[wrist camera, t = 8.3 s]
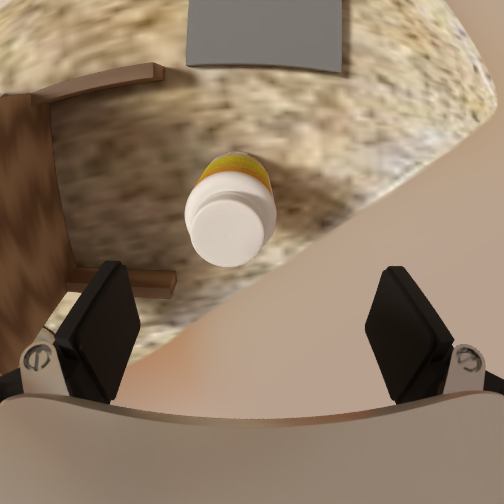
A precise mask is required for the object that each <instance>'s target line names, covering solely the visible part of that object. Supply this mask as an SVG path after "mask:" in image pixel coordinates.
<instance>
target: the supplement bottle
mask: <svg viewBox="0 0 504 504" xmlns="http://www.w3.org/2000/svg"><path fill="white" fill-rule="evenodd" d="M276 219H277V211H276V206H275V202H274V197H273V193H272V188H271V184H270V180H269V176H268V173H267V171H266V169H265V167H264V165H263V164H262V163H261V162H260V161H259V160H258V159H257V158H255V157H254V156H252V155H250V154H248V153H244V152H238V151H234V152H227V153H224V154H222V155H219V156H218V157H216V158H215V159H214V160H213V161H211V162H210V164H209V165H208V166H207V168H206V169H205V171H204V172H203V174H202V176H201V177H200V179H199V180H198V182H197V184H196V185H195V187H194V188H193V190H192V192H191V193H190V195H189V198H188V200H187V203H186V207H185V223H186V227H187V229H188V232H189V234H190V237H191V241H192V244H193V247H194V248H195V250H196V252H197V253H198V254H199V255H200V256H201V257H202V258H203V259H204V260H206V261H207V262H209V263H211V264H214V265H216V266H220V267H236V266H240V265H243V264H245V263H247V262H249V261H251V260H252V259H253V258H254V257H255V256H256V255H257V254H258V253H259V252H260V250H261V248H262V247H263V246H264V245H265V244H266V243H267V241H268V240H269V239H270V237H271V235H272V233H273V231H274V229H275V225H276Z"/></svg>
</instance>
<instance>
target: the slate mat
mask: <svg viewBox="0 0 504 504" xmlns="http://www.w3.org/2000/svg"><path fill="white" fill-rule="evenodd" d="M214 65H255V66H276V67H289V68H300V69H309V70H317V71H324V72H331V73H337V74H338V73H341V65H342V0H189V10H188V25H187V45H186V66H188V67H193V66H214Z"/></svg>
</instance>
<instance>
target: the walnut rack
mask: <svg viewBox="0 0 504 504" xmlns="http://www.w3.org/2000/svg"><path fill="white" fill-rule="evenodd" d="M161 80H164V66H161V65H159V64H156V63H154V62H151V63H144V64H138V65H132V66H127V67H121V68H116V69H111V70H107V71H102V72H98V73H94V74H90V75H86V76H82V77H79V78H75V79H71V80H68V81H65V82H62V83H58V84H55V85H52V86H49V87H46V88H44V89H41V90H38V91H35V92H33V93H28V94H19V95H11V96H4V97H0V376H2V375H4V374H7V373H9V372H11V371H13V370H15V369H17V368H18V367H19V365H20V357H21V355H22V353H23V351H24V350H25V349H26V348H27V347H28V346H29V345H31V344H32V343H33V342H34V340H35V338H36V337H37V335H38V334H39V332H40V331H41V329H42V328H43V326H44V324H45V323H46V321H47V320H48V319H49V317H50V316H51V314H52V313H53V311H54V310H55V308H56V307H57V306H58V304H59V303H60V301H61V300H62V299H63V297H64V296H65V294H66V293H67V292H79V293H82V292H83V291H84V290H85V288H86V287H87V285H88V284H89V282H90V281H91V280H92V278H93V277H94V275H95V274H96V273H97V271H98V270H99V269H100V268H86V267H76V263H75V260H74V257H73V253H72V249H71V245H70V242H69V238H68V234H67V229H66V225H65V221H64V216H63V211H62V206H61V201H60V196H59V190H58V184H57V178H56V171H55V164H54V155H53V146H52V135H51V120H50V103H52V102H55V101H59V100H62V99H66V98H69V97H73V96H77V95H81V94H85V93H90V92H94V91H99V90H103V89H108V88H114V87H119V86H125V85H131V84H138V83H145V82H152V81H161ZM127 272H128V276H129V280H130V284H131V288H132V292H133V296H134V297H143V298H161V299H171V297H172V294H173V291H174V288H175V285H176V282H177V278H176V271H162V270H133V269H127Z"/></svg>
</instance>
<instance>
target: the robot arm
mask: <svg viewBox="0 0 504 504" xmlns="http://www.w3.org/2000/svg"><path fill="white" fill-rule="evenodd" d="M139 331H140V319H139V315H138V311H137V308H136V304H135V300H134V296H133V292H132V288H131V284H130V280H129V276H128V272H127V268H126V266H125V265H122V263H121V262H120V261H105V262H104V263H103V264H102V266H101V267H100V269H99V270H98V271H97V273H96V274H95V275H94V277H93V278H92V280H91V281H90V282H89V284H88V285H87V287H86V288H85V290H84V291H83V292H82V294H81V295H80V297H79V298H78V300H77V301H76V303H75V304H74V306H73V307H72V309H71V310H70V312H69V313H68V315H67V316H66V318H65V320H64V321H63V323H62V324H61V326H60V328H59V329H58V331H57V332H56V334H55V336H54V335H53V334H52V333H50V332H49V331H48V330H47V329H45V328H44V327H43V328H42V329H41V331H40V332H39V334H38V335H37V337H36V338H35V340H34V342H33V343H32V344H31V345H29V346H28V347H27V348H26V349H25V350H24V351H23V353H22V355H21V357H20V365H19V367H18V368H17V369H15V370H13V371H11V372H9V373H7V374H4V375H2V376H0V504H504V380H503V379H501V378H499V377H498V376H496V375H494V374H491V373H490V372H488V371H486V370H485V360H484V358H483V356H482V354H481V353H480V352H479V351H478V350H477V349H476V348H474V347H472V346H470V345H467V344H460V345H458V346H456V347H455V348H453V346H452V343H453V341H454V338H453V337H452V335H451V334H450V332H449V330H448V329H447V327H446V326H445V324H444V323H443V321H442V320H441V318H440V317H439V315H438V314H437V312H436V311H435V309H434V308H433V306H432V305H431V304H430V302H429V301H428V299H427V298H426V296H425V295H424V294H423V293H422V291H421V290H420V288H419V287H418V285H417V284H416V283H415V281H414V280H413V279H412V277H411V276H410V275H409V273H408V272H407V271H406V269H405V268H404V267H402V266H389V267H388V268H387V269H386V270H384V271H383V272H382V275H381V278H380V282H379V285H378V288H377V291H376V294H375V297H374V300H373V303H372V306H371V309H370V312H369V315H368V318H367V321H366V324H365V332H366V335H367V337H368V340H369V342H370V345H371V347H372V350H373V352H374V355H375V357H376V360H377V363H378V365H379V368H380V370H381V373H382V375H383V378H384V381H385V383H386V386H387V389H388V392H389V394H390V397H391V399H392V400H393V401H395V402H396V405H393V406H388V407H383V408H377V409H371V410H365V411H359V412H352V413H344V414H336V415H327V416H315V417H302V418H285V419H223V418H206V417H205V418H204V417H192V416H181V415H172V414H163V413H156V412H149V411H143V410H137V409H131V408H125V407H119V406H113V405H110V401H111V400H114V399H115V397H116V395H117V392H118V389H119V386H120V383H121V380H122V377H123V374H124V371H125V368H126V366H127V363H128V360H129V357H130V355H131V352H132V349H133V346H134V344H135V341H136V338H137V336H138V333H139Z"/></svg>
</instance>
